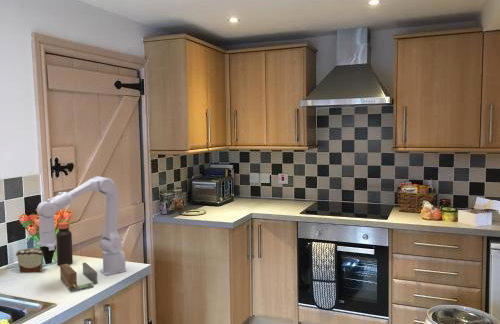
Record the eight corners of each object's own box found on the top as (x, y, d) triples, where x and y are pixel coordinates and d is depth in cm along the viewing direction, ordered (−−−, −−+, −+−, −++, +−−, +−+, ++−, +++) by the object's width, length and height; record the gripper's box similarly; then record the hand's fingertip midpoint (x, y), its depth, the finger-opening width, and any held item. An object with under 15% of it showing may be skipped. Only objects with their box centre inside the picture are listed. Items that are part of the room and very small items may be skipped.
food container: (50, 268, 199) (49, 247, 198) (44, 272, 193) (43, 251, 192) (23, 268, 199) (22, 247, 198) (16, 273, 193) (15, 251, 192)
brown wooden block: (67, 277, 187) (67, 263, 187) (79, 289, 173) (79, 274, 173) (60, 278, 185) (59, 265, 185) (71, 291, 172) (71, 276, 171)
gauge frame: (85, 273, 193) (85, 262, 192) (99, 286, 178) (99, 274, 177) (58, 278, 186) (58, 267, 185) (71, 292, 171) (70, 280, 170)
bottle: (54, 264, 204) (52, 223, 202) (66, 260, 210) (65, 221, 208) (63, 267, 201) (61, 225, 199) (75, 263, 206) (74, 222, 205)
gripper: (32, 229, 177) (34, 260, 179) (40, 236, 166) (41, 270, 167) (50, 226, 182) (52, 257, 183) (59, 233, 170) (60, 266, 171)
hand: (48, 263), depth 175 cm, fingers closed
